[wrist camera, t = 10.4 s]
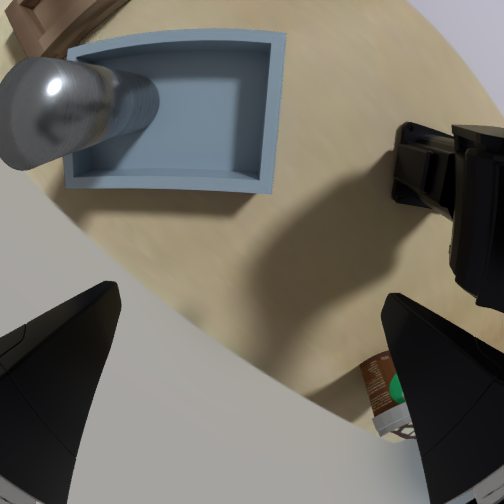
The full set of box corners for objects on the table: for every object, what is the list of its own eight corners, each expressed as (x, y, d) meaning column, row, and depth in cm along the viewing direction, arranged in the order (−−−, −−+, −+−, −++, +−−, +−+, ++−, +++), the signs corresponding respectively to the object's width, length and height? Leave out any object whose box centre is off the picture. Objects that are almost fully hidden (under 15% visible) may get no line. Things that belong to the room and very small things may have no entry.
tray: (280, 46, 16) (286, 33, 13) (268, 181, 20) (271, 194, 17) (92, 55, 15) (68, 48, 12) (89, 177, 20) (65, 189, 16)
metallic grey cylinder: (156, 68, 15) (63, 38, 6) (163, 128, 18) (73, 155, 8) (100, 83, 16) (-13, 83, 6) (107, 140, 18) (-1, 181, 8)
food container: (436, 361, 30) (466, 418, 21) (401, 389, 32) (424, 447, 23) (395, 324, 27) (434, 398, 18) (351, 360, 29) (377, 436, 20)
